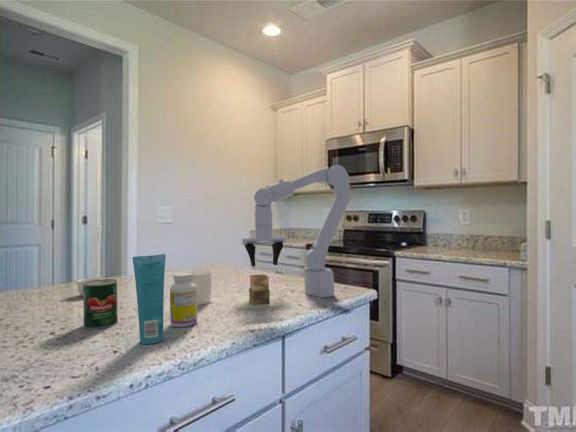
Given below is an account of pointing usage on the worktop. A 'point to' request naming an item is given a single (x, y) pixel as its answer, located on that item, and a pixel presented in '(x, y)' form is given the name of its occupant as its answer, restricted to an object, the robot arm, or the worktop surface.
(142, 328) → the tube
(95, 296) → the canned tomato
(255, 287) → the oak block
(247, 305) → the build board
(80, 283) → the teacup
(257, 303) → the walnut block
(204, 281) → the white cup
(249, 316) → the worktop surface
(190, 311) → the supplement bottle
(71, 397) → the worktop surface
